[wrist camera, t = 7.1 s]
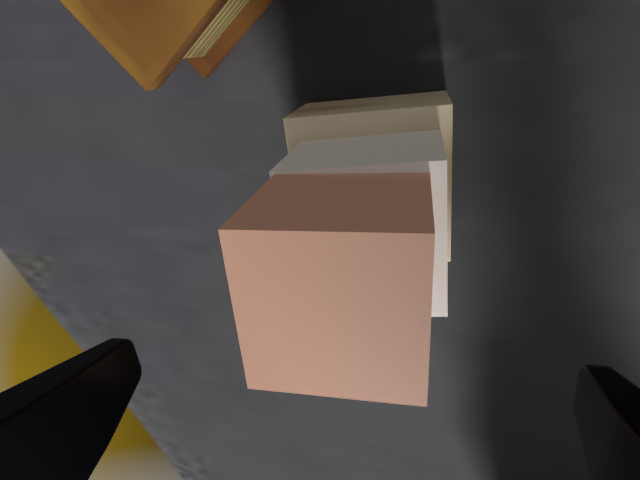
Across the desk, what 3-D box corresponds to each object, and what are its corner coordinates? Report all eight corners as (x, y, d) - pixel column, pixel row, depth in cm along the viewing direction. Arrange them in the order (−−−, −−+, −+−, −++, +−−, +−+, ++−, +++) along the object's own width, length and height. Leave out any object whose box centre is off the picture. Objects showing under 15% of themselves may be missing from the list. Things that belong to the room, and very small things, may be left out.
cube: (424, 308, 13) (426, 406, 10) (289, 300, 14) (248, 388, 11) (430, 172, 12) (434, 233, 8) (274, 173, 13) (218, 229, 9)
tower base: (444, 221, 20) (450, 261, 17) (322, 225, 22) (303, 262, 18) (445, 90, 18) (452, 104, 14) (307, 102, 19) (282, 118, 16)
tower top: (441, 257, 17) (447, 316, 13) (318, 259, 18) (294, 314, 15) (440, 129, 15) (447, 159, 11) (301, 141, 16) (268, 171, 13)
